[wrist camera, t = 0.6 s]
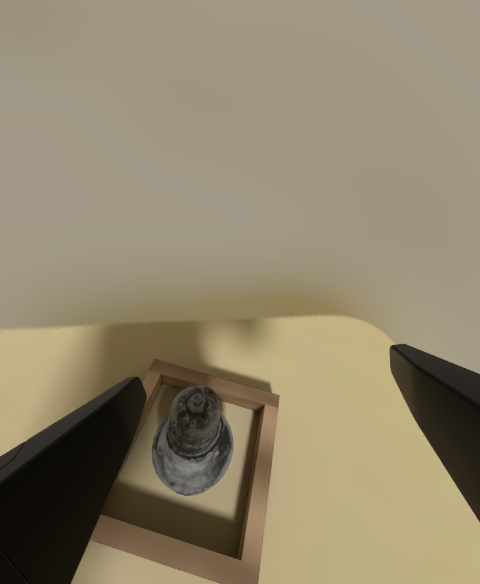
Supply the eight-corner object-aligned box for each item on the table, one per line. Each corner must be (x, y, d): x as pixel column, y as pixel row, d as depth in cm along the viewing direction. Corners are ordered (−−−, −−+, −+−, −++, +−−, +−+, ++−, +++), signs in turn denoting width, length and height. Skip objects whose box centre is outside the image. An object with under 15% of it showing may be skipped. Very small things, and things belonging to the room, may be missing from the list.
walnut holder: (250, 591, 16) (256, 596, 15) (72, 531, 17) (62, 530, 16) (274, 403, 25) (279, 395, 24) (156, 369, 26) (154, 359, 25)
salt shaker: (143, 448, 21) (113, 384, 13) (202, 404, 24) (211, 330, 16) (180, 522, 18) (174, 503, 10) (242, 462, 21) (278, 408, 13)
